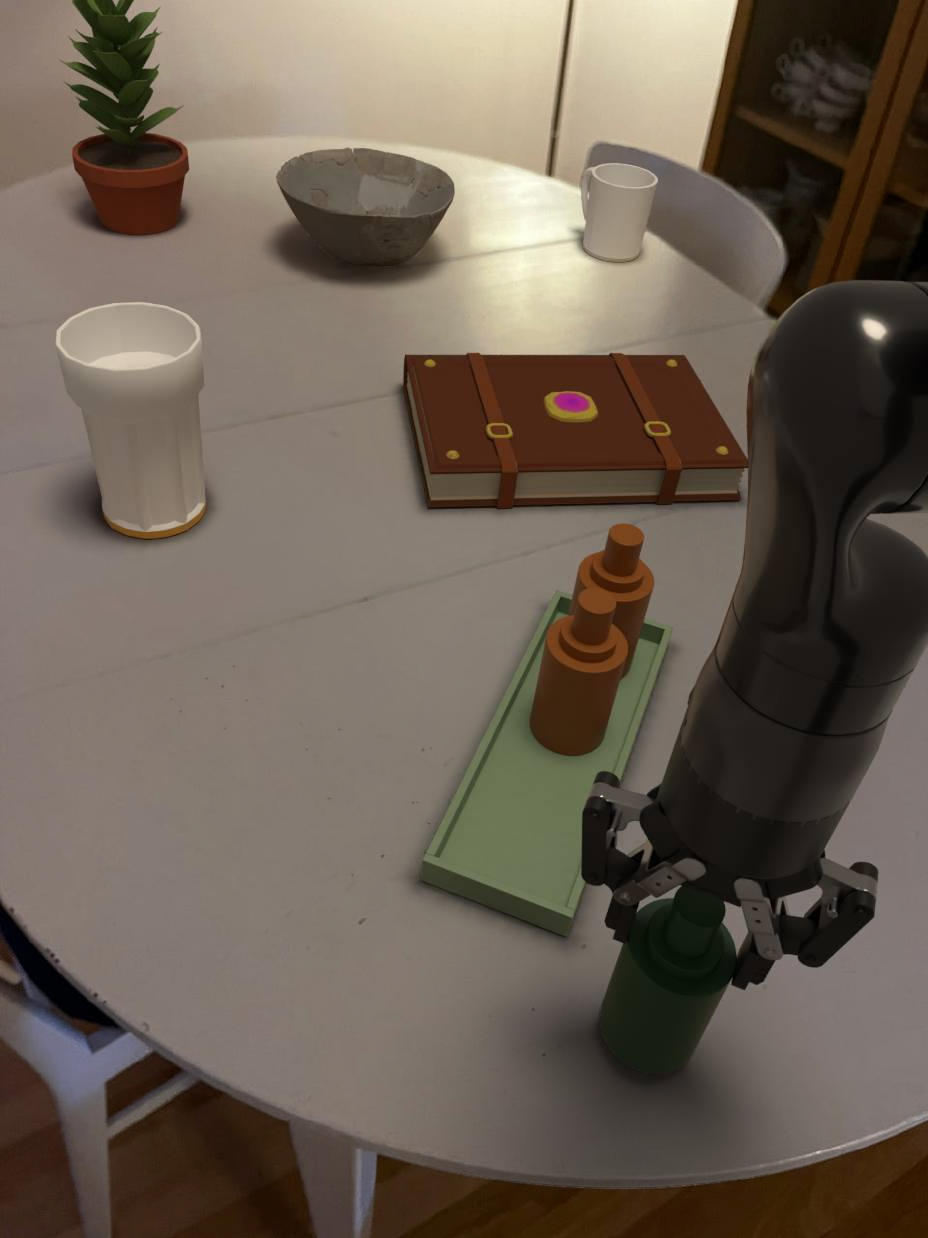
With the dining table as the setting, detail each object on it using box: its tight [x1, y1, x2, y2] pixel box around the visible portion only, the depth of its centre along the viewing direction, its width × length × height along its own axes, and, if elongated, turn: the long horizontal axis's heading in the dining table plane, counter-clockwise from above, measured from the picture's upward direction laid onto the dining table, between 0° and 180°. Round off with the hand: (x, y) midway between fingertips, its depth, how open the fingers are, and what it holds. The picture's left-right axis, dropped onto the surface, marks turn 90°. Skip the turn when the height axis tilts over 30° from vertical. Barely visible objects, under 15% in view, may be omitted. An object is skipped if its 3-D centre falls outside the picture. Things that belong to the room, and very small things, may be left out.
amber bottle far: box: [568, 522, 655, 680], centre depth 79 cm, size 6×6×13 cm
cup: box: [54, 301, 207, 540], centre depth 87 cm, size 11×11×17 cm
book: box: [402, 352, 748, 509], centre depth 106 cm, size 23×32×5 cm
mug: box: [580, 162, 659, 263], centre depth 141 cm, size 11×9×10 cm
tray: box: [420, 589, 674, 937], centre depth 76 cm, size 29×10×2 cm, turn 159°
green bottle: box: [598, 885, 738, 1075], centre depth 56 cm, size 6×6×13 cm
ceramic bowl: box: [275, 147, 456, 268], centre depth 132 cm, size 22×23×10 cm
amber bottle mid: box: [530, 588, 628, 756], centre depth 73 cm, size 6×6×13 cm
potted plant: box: [57, 0, 190, 236], centre depth 128 cm, size 15×15×30 cm
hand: (681, 949), depth 54 cm, fingers closed on green bottle, 5 cm apart
